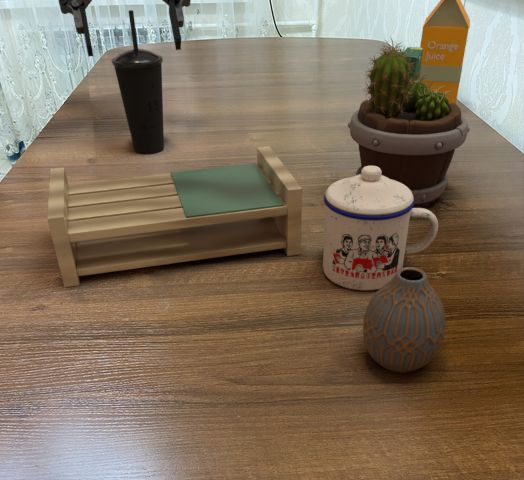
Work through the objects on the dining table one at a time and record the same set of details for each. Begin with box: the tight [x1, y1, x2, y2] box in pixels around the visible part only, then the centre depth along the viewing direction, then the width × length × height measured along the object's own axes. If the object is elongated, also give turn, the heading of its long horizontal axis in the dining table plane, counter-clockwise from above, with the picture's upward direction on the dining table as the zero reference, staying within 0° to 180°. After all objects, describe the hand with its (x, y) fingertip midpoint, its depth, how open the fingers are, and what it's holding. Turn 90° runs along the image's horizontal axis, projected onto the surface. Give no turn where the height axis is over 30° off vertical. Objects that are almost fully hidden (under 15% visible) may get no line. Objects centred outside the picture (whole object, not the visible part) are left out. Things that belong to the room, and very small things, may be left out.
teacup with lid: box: [322, 166, 439, 291], centre depth 63 cm, size 12×9×12 cm
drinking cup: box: [110, 9, 165, 155], centre depth 93 cm, size 8×8×20 cm
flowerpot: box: [347, 36, 470, 209], centre depth 77 cm, size 14×15×20 cm
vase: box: [362, 266, 447, 373], centre depth 52 cm, size 7×7×9 cm
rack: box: [46, 145, 303, 288], centre depth 71 cm, size 14×27×8 cm, turn 104°
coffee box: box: [402, 46, 423, 81], centre depth 99 cm, size 8×3×13 cm, turn 160°
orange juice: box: [419, 0, 471, 105], centre depth 108 cm, size 8×9×20 cm
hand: (134, 47), depth 94 cm, fingers open, 13 cm apart
